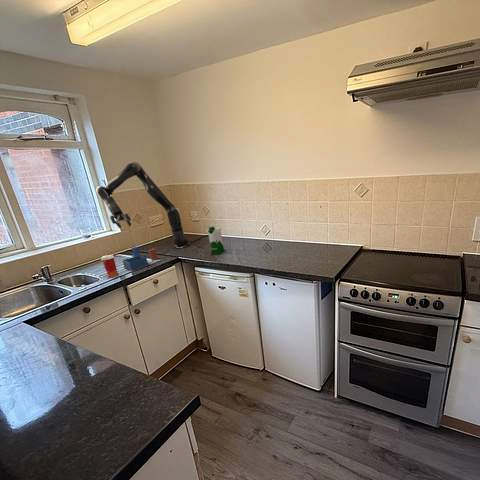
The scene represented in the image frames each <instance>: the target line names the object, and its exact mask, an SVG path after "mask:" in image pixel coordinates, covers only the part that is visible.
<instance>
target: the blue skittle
mask: <svg viewBox="0 0 480 480" xmlns="http://www.w3.org/2000/svg"><path fill="white" fill-rule="evenodd" d="M139 251H140V250H139V248H138V246H133V247H131V252H132V255H133V257H135V256H141V255H140V252H139Z"/></svg>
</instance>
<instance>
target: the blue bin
mask: <svg viewBox="0 0 480 480" xmlns="http://www.w3.org/2000/svg"><path fill="white" fill-rule="evenodd" d="M122 264H123V266H124V269H127V270H130V271H135V270H138V269H140V268H144V267H146V266H149V262H148V258H147V257H146V256H142V255H140V256H135V257H134V256H132V257H128V258H126V259H123V260H122Z"/></svg>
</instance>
